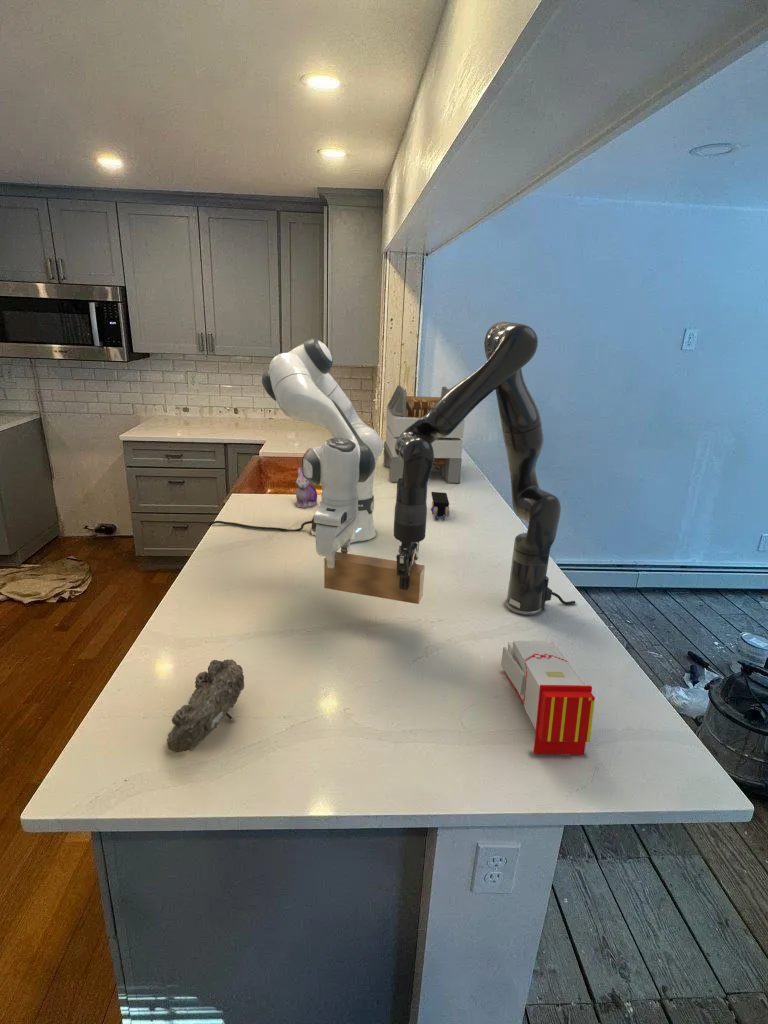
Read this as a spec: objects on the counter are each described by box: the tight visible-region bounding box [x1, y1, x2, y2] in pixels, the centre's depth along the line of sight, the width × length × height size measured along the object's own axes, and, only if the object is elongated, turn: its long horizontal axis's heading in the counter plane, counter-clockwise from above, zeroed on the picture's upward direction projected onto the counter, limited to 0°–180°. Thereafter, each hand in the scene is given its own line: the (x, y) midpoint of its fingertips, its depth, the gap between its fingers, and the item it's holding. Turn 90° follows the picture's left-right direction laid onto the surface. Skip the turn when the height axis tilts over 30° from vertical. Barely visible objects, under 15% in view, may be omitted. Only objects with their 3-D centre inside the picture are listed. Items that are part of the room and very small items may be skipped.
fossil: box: [166, 658, 245, 754], centre depth 106 cm, size 22×10×15 cm
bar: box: [323, 551, 426, 605], centre depth 140 cm, size 24×5×8 cm, turn 74°
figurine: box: [295, 467, 318, 508], centre depth 222 cm, size 9×10×15 cm
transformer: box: [383, 384, 465, 484], centre depth 268 cm, size 34×33×41 cm
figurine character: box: [430, 491, 450, 521], centre depth 218 cm, size 7×8×15 cm
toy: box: [500, 640, 596, 756], centre depth 114 cm, size 12×13×30 cm
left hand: (338, 559), depth 141 cm, fingers open, 8 cm apart
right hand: (406, 583), depth 138 cm, fingers closed on bar, 4 cm apart
